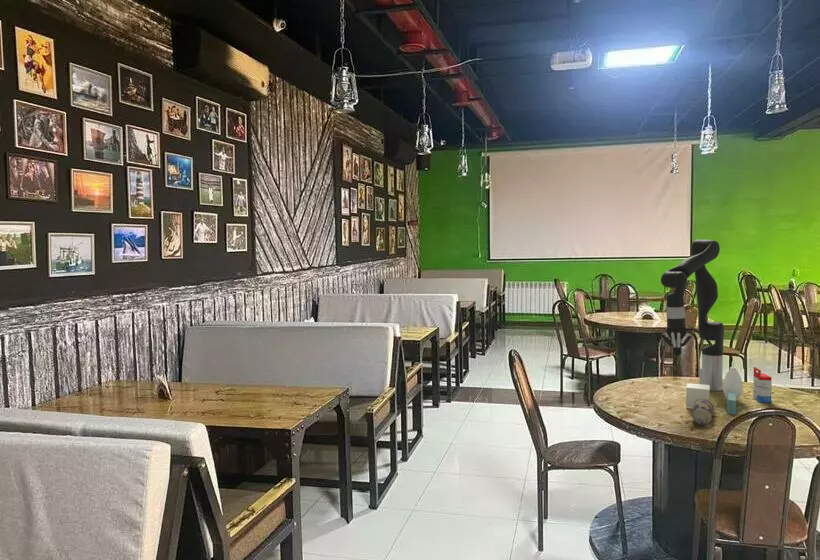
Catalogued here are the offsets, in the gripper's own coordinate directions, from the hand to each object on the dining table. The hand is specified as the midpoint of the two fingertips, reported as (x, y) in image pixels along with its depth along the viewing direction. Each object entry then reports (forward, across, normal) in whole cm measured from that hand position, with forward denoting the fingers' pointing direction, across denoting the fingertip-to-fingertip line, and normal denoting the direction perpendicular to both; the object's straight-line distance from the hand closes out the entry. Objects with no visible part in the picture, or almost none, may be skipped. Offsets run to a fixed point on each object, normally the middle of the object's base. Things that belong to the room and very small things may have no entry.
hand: (677, 355), depth 259 cm
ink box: (+25, +29, +27) cm, 47 cm away
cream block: (+23, +7, +1) cm, 24 cm away
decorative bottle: (+22, +12, -21) cm, 33 cm away
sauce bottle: (+24, +18, +19) cm, 36 cm away
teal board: (+23, +20, +3) cm, 31 cm away
